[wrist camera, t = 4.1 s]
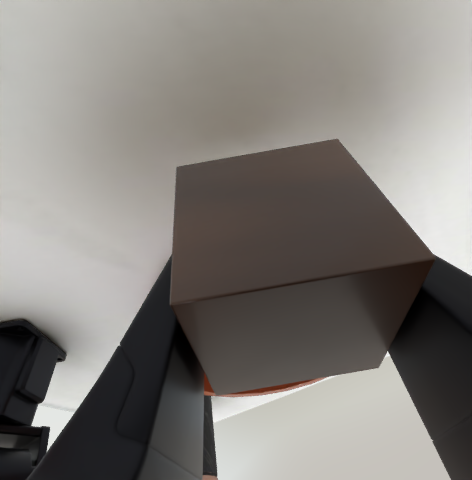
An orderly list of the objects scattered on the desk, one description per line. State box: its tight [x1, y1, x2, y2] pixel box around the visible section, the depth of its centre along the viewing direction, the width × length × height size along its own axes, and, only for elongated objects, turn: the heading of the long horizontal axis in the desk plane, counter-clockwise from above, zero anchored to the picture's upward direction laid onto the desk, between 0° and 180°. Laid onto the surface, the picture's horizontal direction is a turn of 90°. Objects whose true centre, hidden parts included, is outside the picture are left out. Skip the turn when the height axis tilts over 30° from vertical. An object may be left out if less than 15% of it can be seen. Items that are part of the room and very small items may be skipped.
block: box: [170, 139, 436, 396], centre depth 8 cm, size 4×4×4 cm
